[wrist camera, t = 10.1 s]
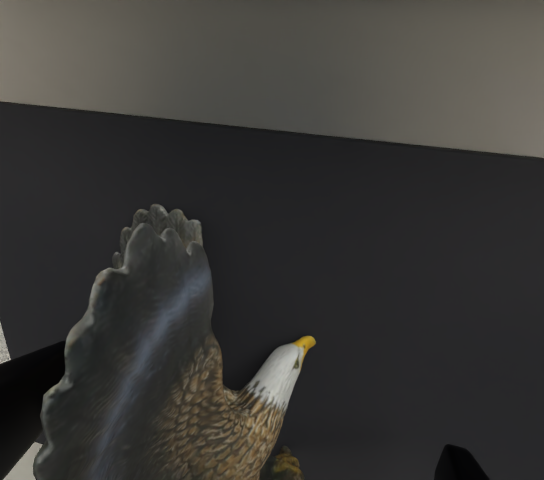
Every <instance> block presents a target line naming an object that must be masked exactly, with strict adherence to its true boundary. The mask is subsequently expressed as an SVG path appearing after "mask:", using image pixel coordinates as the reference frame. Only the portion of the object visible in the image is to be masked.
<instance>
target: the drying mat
mask: <svg viewBox="0 0 544 480" xmlns="http://www.w3.org/2000/svg"><path fill="white" fill-rule="evenodd" d="M153 204H159V205H161V206H163V207H164V208H165V210H166V211H167V213H168V214H169V213H170V212H171V211H172V210H174V209H180V210H181V211H182V212H183V213H184V215H185V216H186V218H187V220H188V221H190V220H192V219H193V220H198V221H199V222H201V225H202V239H203V248H204V250H205V253H206V255H207V258H208V263H209V267H210V269H211V276H212V284H213V301H214V305H213V312H212V317H211V327H212V331H213V333H214V336H215V338H216V339H217V341H218V343H219V346H220V349H221V353H222V362H223V369H222V376H223V385H224V386H226V387H227V388H228V389H230V390H233V391H240V390H242V389H243V388H244V387H245V386H246V385H247V384H248V383H249V382H250V381H251V380H252V379H253V377H254V376H255V375H256V373H257V372H258V371H259V369H260V368H261V366H262V365H263V364H264V362H265V361H266V360H267V358H268V357H269V356H270V354H271V353H272V352H273V351H274V350H275V349H276V348H277V347H279V346H281V345H285V344H290V343H293V342H295V341H297V340H299V339H300V338H302V337H304V336H312V337H313V338H314V339H315V341H316V344H315V345H314V346H312V347H311V348H310V349H309V350H308V351H307V353H306V355H305V357H304V359H303V363H302V367H301V370H300V373H299V375H298V377H297V380H296V382H295V385H294V388H293V391H292V394H291V396H290V399H289V402H288V406H287V409H286V412H285V415H284V417H283V423H282V426H281V429H280V432H279V435H278V437H277V440H276V443H275V445H274V447H273V449H272V452H271V454H270V455H271V456H277V455H278V454H279V453H280V450H281V448H282V447H283V446H287V447H288V448H289V449H290V450H291V453H292V455H293V457H295V458H297V460H298V461H299V465H300V466H299V469H300V470H301V471H302V472H303V474H304V477H305V479H304V480H434V475H435V469H436V466H437V464H438V461H439V458H440V456H441V453H442V451H443V448H444V446H445V445H447V444H451V445H455V446H459V447H462V448H465V449H467V450H468V451H469V452H470V453H471V454H472V455H473V457H474V458H475V459H476V461H477V462H478V463H479V465H480V466H481V468H482V469H483V470H484V472H485V473H486V475H487V476H488V477H489V479H490V480H544V158H536V157H526V156H517V155H507V154H498V153H488V152H478V151H469V150H459V149H450V148H440V147H430V146H421V145H411V144H402V143H392V142H383V141H373V140H363V139H354V138H344V137H335V136H325V135H315V134H306V133H296V132H287V131H277V130H268V129H258V128H248V127H239V126H229V125H220V124H210V123H200V122H191V121H181V120H172V119H162V118H153V117H143V116H133V115H124V114H114V113H105V112H95V111H85V110H76V109H66V108H57V107H47V106H38V105H28V104H18V103H9V102H0V322H1V325H2V329H3V333H4V336H5V340H6V344H7V347H8V351H9V354H10V358H11V360H12V359H15V358H18V357H20V356H23V355H26V354H28V353H31V352H34V351H36V350H39V349H42V348H45V347H47V346H50V345H53V344H55V343H58V342H61V341H66V338H67V336H68V334H69V332H70V330H71V328H72V327H73V326H74V325H75V324H77V323H78V322H79V321H80V320H81V319H82V318H83V316H84V315H85V313H86V311H87V309H88V306H89V298H90V294H91V290H92V287H93V284H94V282H95V279H96V277H97V275H98V274H99V273H100V272H101V271H103V270H105V269H107V268H113V263H112V257H113V255H114V253H115V252H119V253H120V254H121V248H120V236H121V231H122V230H123V228H125V227H129V228H131V227H132V223H133V216H134V214H135V213H136V212H137V211H138V210H139V209H144V210H146V211H149V209H150V207H151V206H152V205H153ZM45 441H46V438H45V435H44V432H42V433H41V434H40V436H39V437H38V438H37V439H36V441H35V442H37V443H40V444H44V442H45Z"/></svg>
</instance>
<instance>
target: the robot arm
mask: <svg viewBox="0 0 544 480" xmlns="http://www.w3.org/2000/svg"><path fill="white" fill-rule="evenodd" d="M65 344H66V341H61V342H58V343H55V344H53V345H50V346H47V347H45V348H42V349H39V350H36V351H34V352H31V353H28V354H26V355H23V356H20V357H18V358H15V359H12V360H10V361H7V362H4V363H2V364H0V480H3V479H4V478H5V477H6V475H7V474H8V473H9V472H10V471H11V469H12V468H13V467H14V466H15V465H16V463H17V462H18V461H19V460H20V459H21V457H22V456H23V455H24V454H25V453H26V451H27V450H28V449H29V448H30V447H31V445H32V444H33V443H34V442H35V441H36V439H37V438H38V437H39V436H40V434H41V433H42V432H43V427H42V422H41V418H40V414H41V410H42V404H43V395H44V394H45V393H46V392H47V391H48V390H49V389H50V388H52V387H53V386H55V385H57V384H58V383H59V382H60V380H61V379H62V377H63V376H64V374H65V353H64V352H65ZM434 480H490V479H489V477H488V476H487V475H486V473H485V472H484V470H483V469H482V468H481V466H480V465H479V463H478V462H477V461H476V459H475V458H474V457H473V455H472V454H471V453H470V452H469V451H468V450H467V449H465V448H462V447H459V446H455V445H451V444H447V445H445V446H444V448H443V451H442V453H441V456H440V458H439V461H438V464H437V466H436V469H435V475H434Z"/></svg>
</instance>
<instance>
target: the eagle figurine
mask: <svg viewBox="0 0 544 480" xmlns="http://www.w3.org/2000/svg"><path fill="white" fill-rule="evenodd" d="M120 248H121V254H120V253H119V252H115V253H114V255H113V257H112V263H113V268H107V269H105V270H103V271H101V272H100V273H99V274H98V275H97V277H96V279H95V282H94V284H93V287H92V290H91V294H90V298H89V306H88V309H87V311H86V313H85V315H84V316H83V318H82V319H81V320H80V321H79V322H78V323H77V324H75V325H74V326H73V327H72V328H71V330H70V332H69V334H68V336H67V338H66V344H65V352H64V353H65V374H64V376H63V377H62V379H61V380H60V382H59V383H58V384H57V385H55V386H53V387H52V388H50V389H49V390H48V391H47V392H46V393H45V394H44V395H43V404H42V410H41V414H40V418H41V422H42V427H43V432H44V435H45V438H46V441H45V442H44V444H43V445H42V447H41V448H40V450H39V452H38V453H37V455H36V457H35V459H34V464H33V474H34V476H35V478H36V480H304V479H305V477H304V474H303V472H302V471H301V470H300V469H299V466H300V465H299V461H298V460H297V458H295V457H293V455H292V453H291V450H290V449H289V448H288V447H287V446H283V447H282V448H281V450H280V453H279V454H278V455H277V456H271V455H270V454H271V452H272V449H273V447H274V445H275V443H276V440H277V437H278V435H279V432H280V429H281V426H282V423H283V417H284V415H285V412H286V409H287V406H288V402H289V399H290V396H291V394H292V391H293V388H294V385H295V382H296V380H297V377H298V375H299V373H300V370H301V367H302V363H303V359H304V357H305V355H306V353H307V351H308V350H309V349H310V348H311V347H312V346H314V345H315V344H316V341H315V339H314V338H313V337H312V336H304V337H302V338H300V339H299V340H297V341H295V342H293V343H290V344H285V345H281V346H279V347H277V348H276V349H275V350H274V351H273V352H272V353H271V354H270V356H269V357H268V358H267V360H266V361H265V362H264V364H263V365H262V366H261V368H260V369H259V371H258V372H257V373H256V375H255V376H254V377H253V379H252V380H251V381H250V382H249V383H248V384H247V385H246V386H245V387H244V388H243V389H242V390H240V391H233V390H230V389H228V388H227V387H226V386H224V385H223V376H222V369H223V362H222V353H221V349H220V346H219V343H218V341H217V339H216V338H215V336H214V333H213V331H212V327H211V317H212V312H213V305H214V301H213V284H212V276H211V269H210V267H209V263H208V258H207V255H206V253H205V250H204V248H203V239H202V225H201V222H199V221H198V220H193V219H192V220H190V221H188V220H187V218H186V216H185V215H184V213H183V212H182V211H181V210H180V209H174V210H172V211H171V212H170V213H169V214H168V213H167V211H166V210H165V208H164V207H163V206H161V205H159V204H153V205H152V206H151V207H150V209H149V211H146V210H144V209H139V210H138V211H137V212H136V213H135V214H134V216H133V223H132V227H131V228H129V227H125V228H123V230H122V231H121V236H120Z"/></svg>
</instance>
